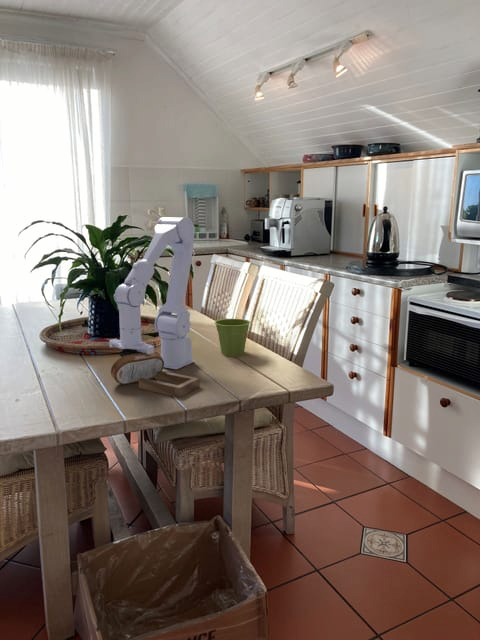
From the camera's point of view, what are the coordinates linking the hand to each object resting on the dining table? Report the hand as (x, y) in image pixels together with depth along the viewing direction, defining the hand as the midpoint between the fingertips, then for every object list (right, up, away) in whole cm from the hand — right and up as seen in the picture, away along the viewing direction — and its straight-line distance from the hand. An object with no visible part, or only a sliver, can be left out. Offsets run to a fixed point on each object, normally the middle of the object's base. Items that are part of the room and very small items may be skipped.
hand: (132, 375), depth 147 cm
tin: (+1, -2, -1) cm, 2 cm away
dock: (+11, -3, -6) cm, 12 cm away
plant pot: (+28, +4, +25) cm, 38 cm away
